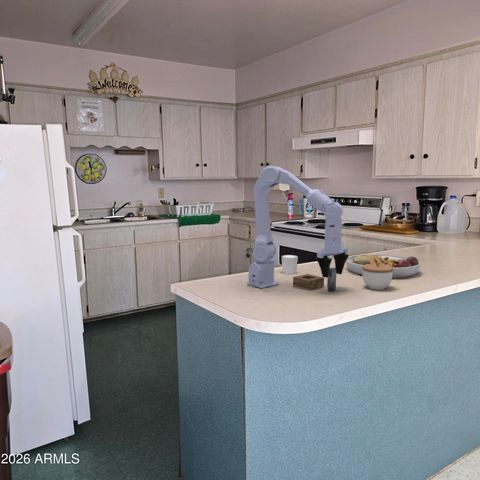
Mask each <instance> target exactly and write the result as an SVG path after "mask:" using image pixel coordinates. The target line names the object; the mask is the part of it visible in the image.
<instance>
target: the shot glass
mask: <svg viewBox="0 0 480 480" xmlns="http://www.w3.org/2000/svg"><path fill="white" fill-rule="evenodd" d="M298 260H299V258H298V256H297V255H294V254H285V255H281V265H282V273H283V274H284V275H285V274H287V275H294V274H296V273H297V268H298V267H297V266H298Z"/></svg>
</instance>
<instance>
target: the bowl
mask: <svg viewBox="0 0 480 480" xmlns="http://www.w3.org/2000/svg"><path fill="white" fill-rule="evenodd" d="M376 262H379V264H382V265H388V266H391V267H393V276H392V279H403V278H408V277H412V276H414V275H416V274H417V273H418V272H419V270H420V268H421V262H420V261H419V259H418V258H417V257H414V256H408V257H406V256H398V255H390V254H389V255H388V254H373V253H367V254H356V255H349V257H348V259H347V260H346V262H345V264H346V267H347V268H348V269H349V270H350V271H351V272H352V273H354V274H357V275H361V276H363V275H362V270H363V269H362V266H363V265H366V264H376Z"/></svg>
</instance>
